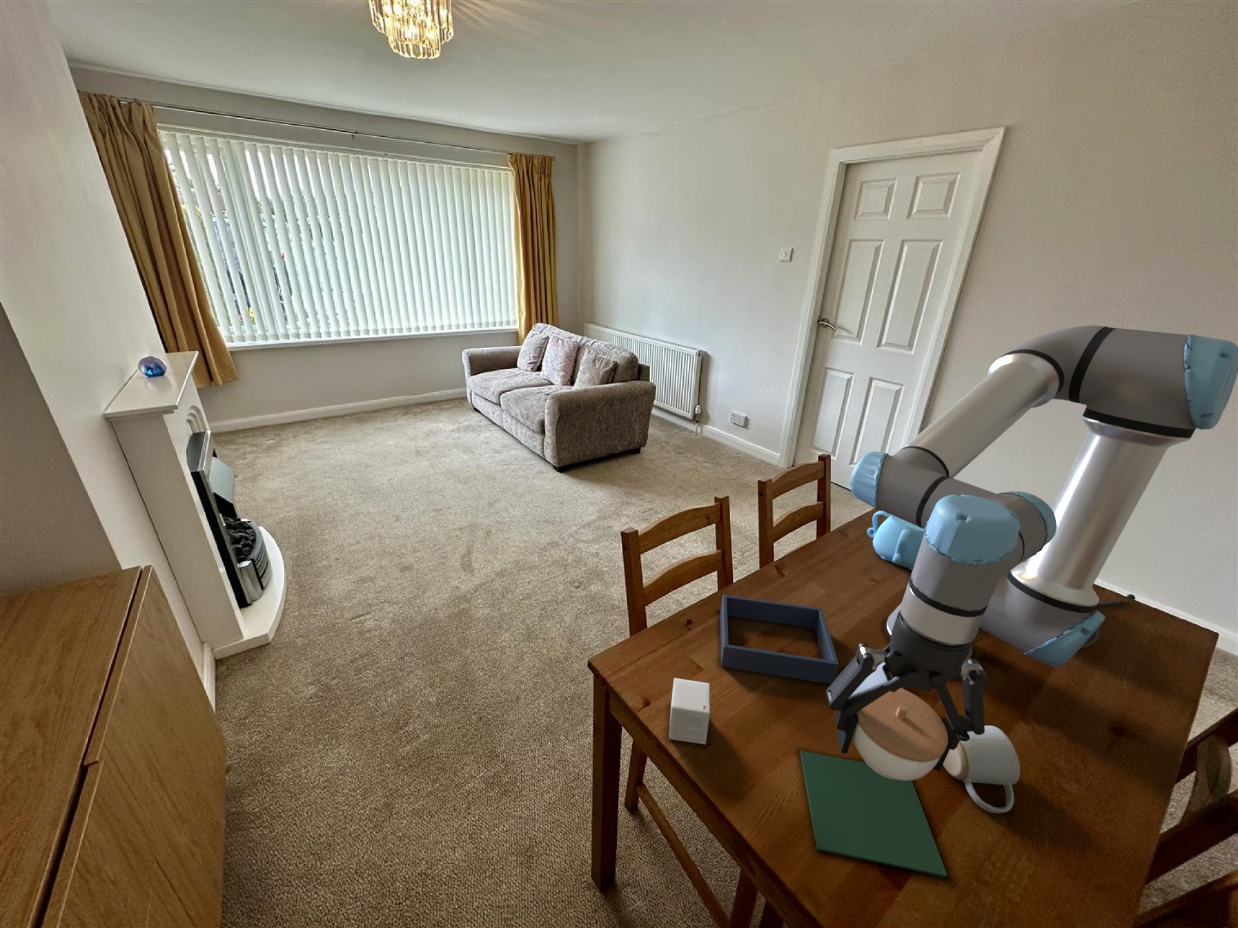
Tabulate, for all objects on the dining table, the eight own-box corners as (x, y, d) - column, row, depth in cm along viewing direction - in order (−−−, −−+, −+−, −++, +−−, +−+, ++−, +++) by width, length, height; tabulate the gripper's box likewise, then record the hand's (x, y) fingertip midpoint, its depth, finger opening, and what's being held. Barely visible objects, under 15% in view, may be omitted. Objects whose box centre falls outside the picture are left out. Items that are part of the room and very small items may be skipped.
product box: (706, 713, 83) (710, 682, 80) (706, 746, 77) (710, 714, 74) (670, 707, 84) (673, 676, 81) (668, 739, 78) (671, 707, 75)
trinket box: (944, 806, 59) (968, 755, 55) (851, 787, 61) (869, 736, 57) (913, 729, 69) (932, 681, 65) (834, 715, 71) (848, 667, 67)
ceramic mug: (927, 746, 78) (941, 713, 75) (976, 747, 78) (993, 715, 75) (969, 816, 69) (988, 782, 66) (1026, 817, 69) (1048, 784, 66)
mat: (907, 772, 74) (908, 770, 74) (946, 877, 62) (947, 875, 62) (800, 752, 77) (800, 750, 77) (816, 849, 64) (817, 847, 64)
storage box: (817, 626, 103) (821, 608, 101) (833, 684, 89) (839, 664, 87) (720, 612, 107) (722, 594, 105) (721, 666, 92) (724, 646, 90)
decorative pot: (920, 544, 135) (934, 501, 130) (951, 578, 120) (968, 532, 115) (860, 539, 136) (872, 496, 131) (883, 573, 122) (897, 527, 116)
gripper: (1027, 617, 57) (967, 742, 66) (823, 589, 61) (792, 712, 70) (1069, 665, 50) (996, 798, 59) (837, 631, 54) (801, 761, 63)
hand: (886, 752), depth 64 cm, fingers closed on trinket box, 11 cm apart
